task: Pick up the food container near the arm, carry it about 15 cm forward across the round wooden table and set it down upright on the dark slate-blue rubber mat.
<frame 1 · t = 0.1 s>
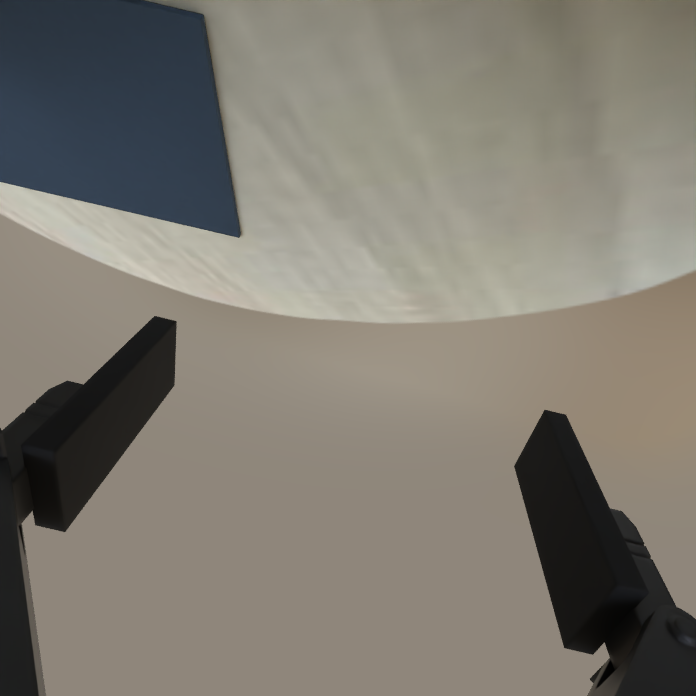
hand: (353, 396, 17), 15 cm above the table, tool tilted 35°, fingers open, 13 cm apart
mat: (63, 113, 29), on the table
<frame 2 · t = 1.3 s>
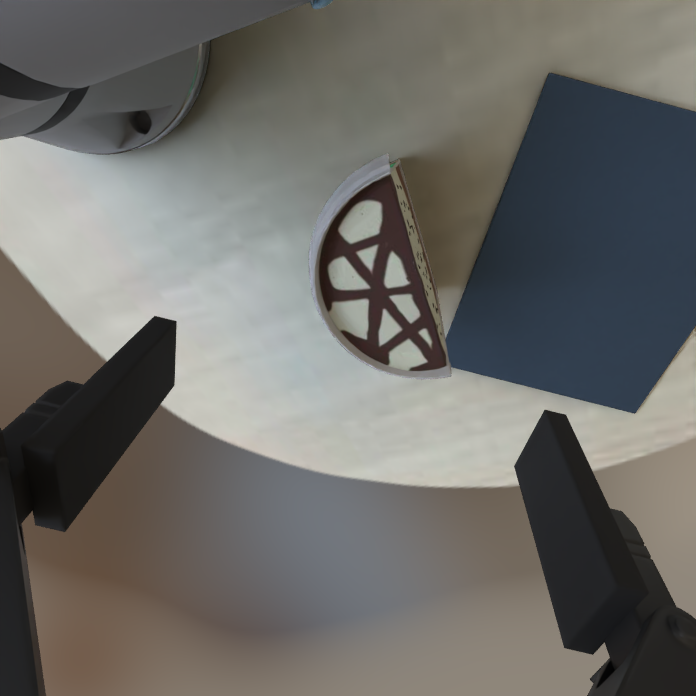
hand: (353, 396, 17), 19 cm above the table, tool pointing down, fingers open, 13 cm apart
food container: (376, 240, 33), on the table
mat: (597, 269, 32), on the table
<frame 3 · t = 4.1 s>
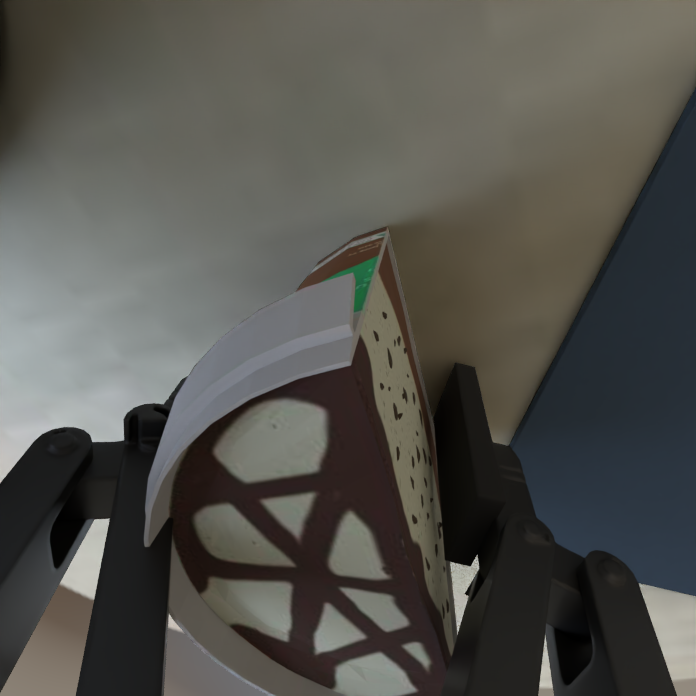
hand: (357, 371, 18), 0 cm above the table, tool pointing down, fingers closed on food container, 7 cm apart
food container: (337, 358, 19), on the table, touching gripper
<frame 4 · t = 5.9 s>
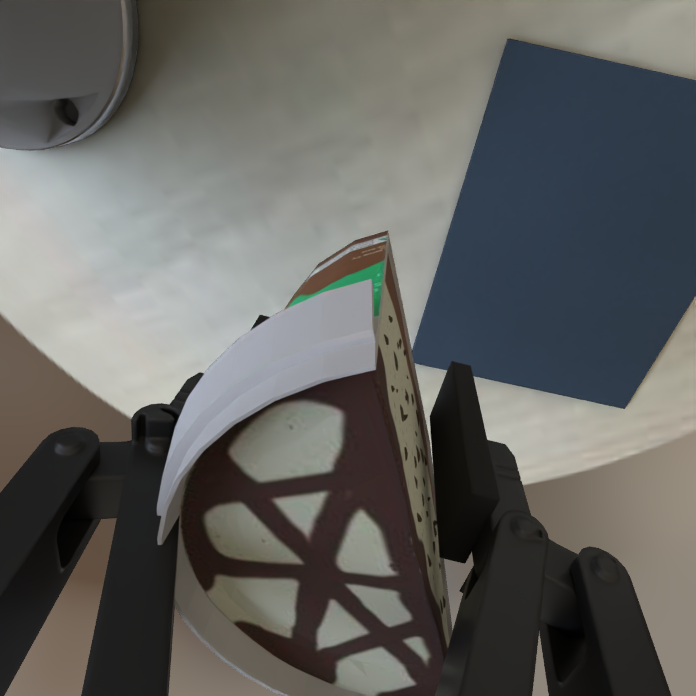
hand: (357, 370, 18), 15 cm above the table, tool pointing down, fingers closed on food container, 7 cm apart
food container: (334, 358, 19), point 14 cm above the table, touching gripper
mat: (575, 254, 30), on the table
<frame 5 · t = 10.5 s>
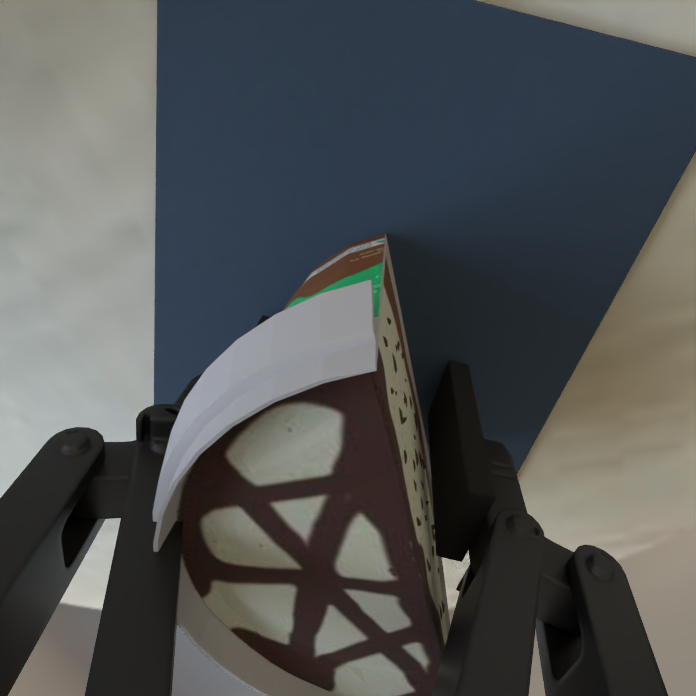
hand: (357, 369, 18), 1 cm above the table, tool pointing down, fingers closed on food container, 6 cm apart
food container: (331, 362, 19), resting on mat, touching gripper
mat: (367, 316, 18), on the table
when the fingers open (1 cm above the table, at t = 10.5 s): food container stays where it is, resting on mat.
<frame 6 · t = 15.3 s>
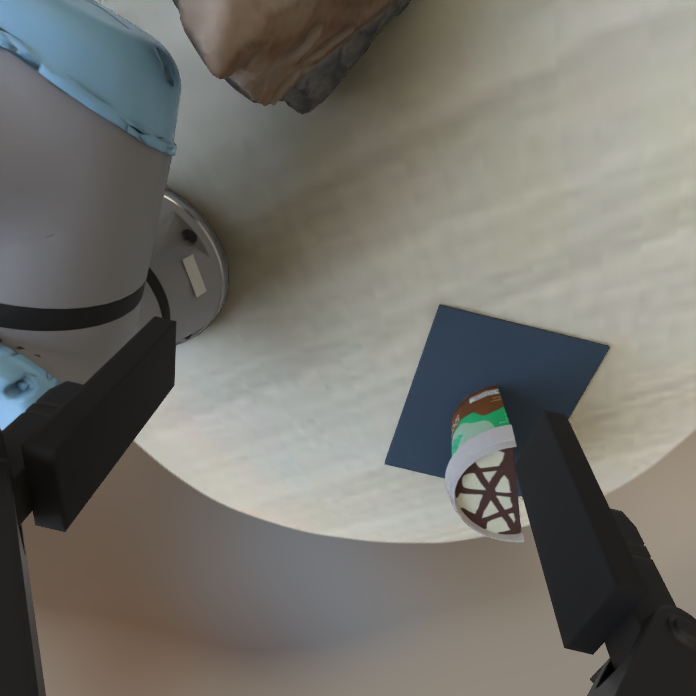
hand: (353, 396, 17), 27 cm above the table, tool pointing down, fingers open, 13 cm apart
food container: (469, 424, 50), resting on mat
mat: (485, 409, 49), on the table
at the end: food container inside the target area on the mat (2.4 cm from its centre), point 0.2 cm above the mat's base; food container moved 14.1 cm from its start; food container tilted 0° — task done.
